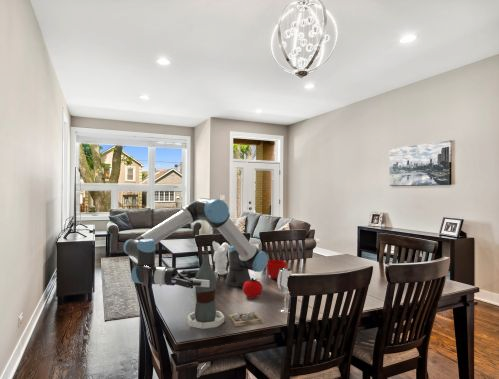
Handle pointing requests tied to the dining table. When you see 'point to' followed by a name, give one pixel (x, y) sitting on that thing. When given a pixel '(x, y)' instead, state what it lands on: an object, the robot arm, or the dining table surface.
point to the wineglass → (283, 285)
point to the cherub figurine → (220, 257)
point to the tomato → (252, 288)
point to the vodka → (205, 293)
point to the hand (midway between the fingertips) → (213, 279)
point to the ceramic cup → (275, 267)
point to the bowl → (192, 322)
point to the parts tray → (247, 322)
